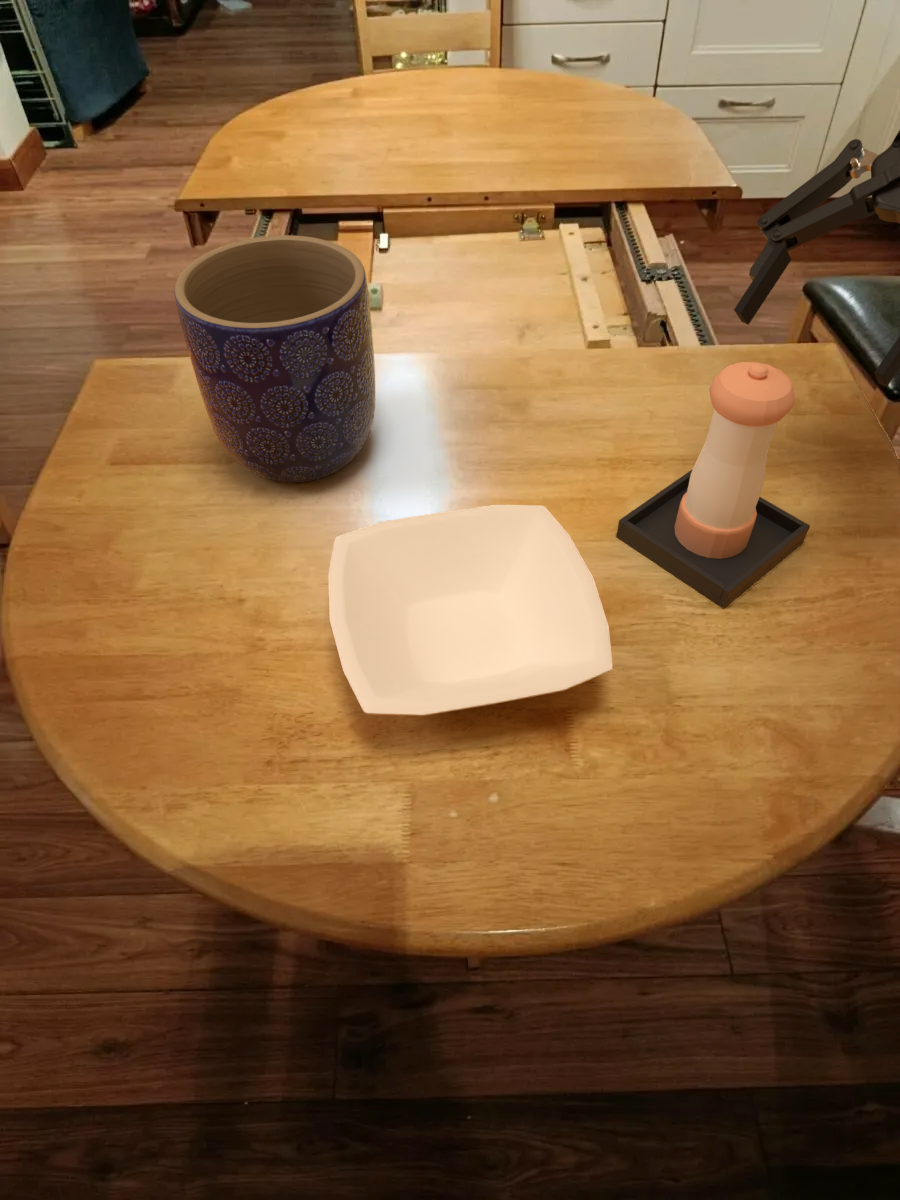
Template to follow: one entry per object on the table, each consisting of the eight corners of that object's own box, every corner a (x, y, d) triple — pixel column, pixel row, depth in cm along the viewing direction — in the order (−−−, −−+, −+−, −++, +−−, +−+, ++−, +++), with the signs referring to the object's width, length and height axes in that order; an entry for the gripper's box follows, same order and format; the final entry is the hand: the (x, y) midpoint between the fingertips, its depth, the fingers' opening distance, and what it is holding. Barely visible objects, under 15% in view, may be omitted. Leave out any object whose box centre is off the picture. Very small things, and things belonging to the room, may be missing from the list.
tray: (803, 542, 85) (810, 525, 83) (723, 608, 79) (729, 592, 77) (696, 479, 92) (701, 462, 90) (615, 536, 86) (618, 519, 84)
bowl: (627, 717, 71) (637, 676, 67) (352, 767, 68) (345, 728, 64) (552, 536, 86) (557, 494, 82) (324, 572, 83) (316, 529, 79)
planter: (350, 516, 89) (326, 339, 73) (190, 488, 92) (135, 313, 77) (402, 414, 100) (391, 243, 85) (259, 392, 104) (223, 225, 88)
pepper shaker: (759, 525, 85) (817, 358, 71) (732, 569, 81) (788, 401, 67) (691, 500, 88) (733, 334, 74) (662, 541, 84) (701, 374, 70)
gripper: (1127, 182, 65) (949, 423, 70) (836, 102, 78) (702, 310, 82) (1141, 124, 59) (944, 394, 63) (822, 48, 72) (677, 276, 76)
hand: (807, 347), depth 73 cm, fingers open, 13 cm apart
